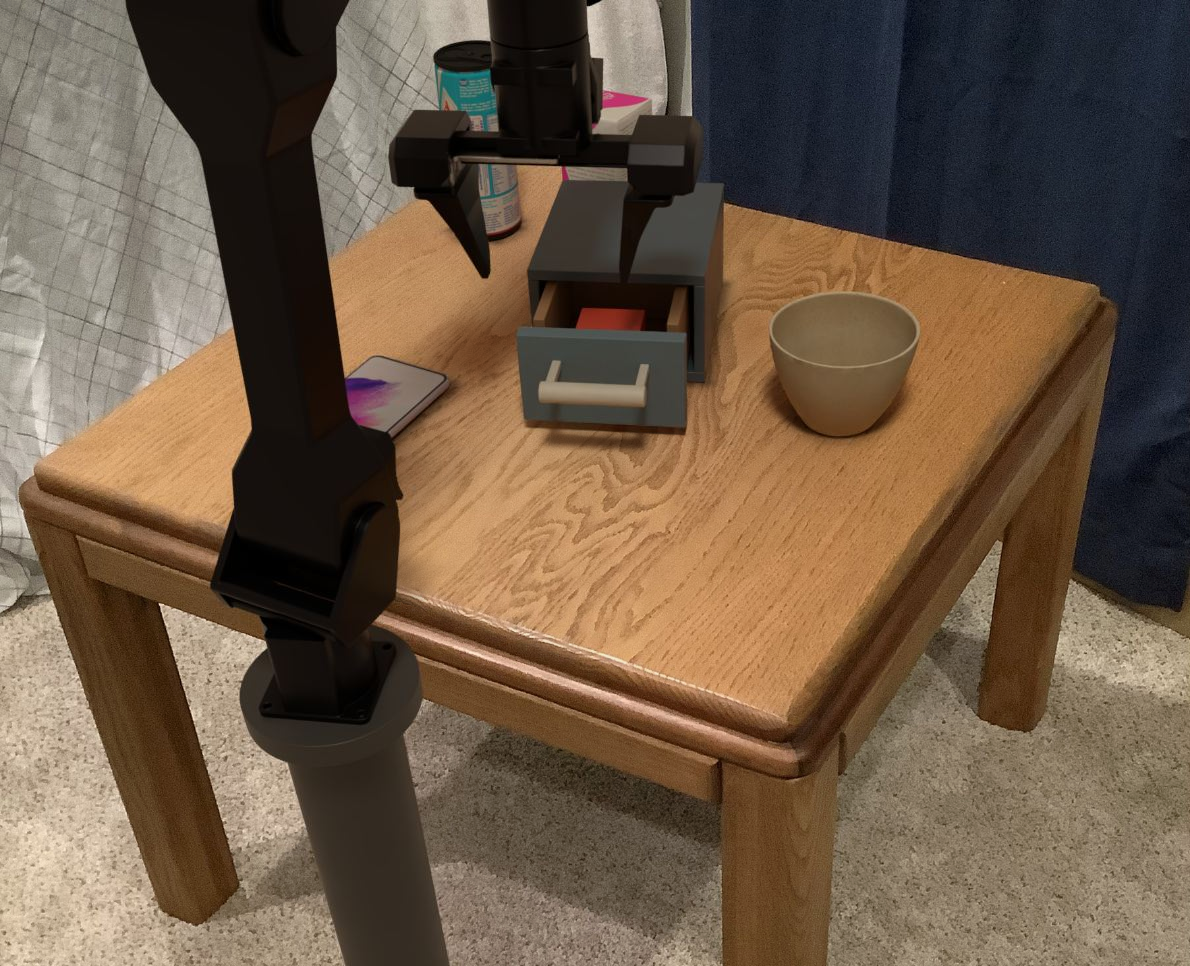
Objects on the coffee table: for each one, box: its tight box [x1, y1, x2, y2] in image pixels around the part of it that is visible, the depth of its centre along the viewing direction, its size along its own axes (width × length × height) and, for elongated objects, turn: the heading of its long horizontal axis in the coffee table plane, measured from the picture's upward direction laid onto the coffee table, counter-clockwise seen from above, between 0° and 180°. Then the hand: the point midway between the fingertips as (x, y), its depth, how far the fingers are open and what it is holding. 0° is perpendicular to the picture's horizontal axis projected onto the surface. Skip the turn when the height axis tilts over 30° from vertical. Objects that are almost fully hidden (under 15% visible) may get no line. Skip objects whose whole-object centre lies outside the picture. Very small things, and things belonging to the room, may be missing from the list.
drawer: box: [515, 280, 694, 428], centre depth 100 cm, size 18×11×7 cm, turn 171°
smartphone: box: [345, 354, 451, 439], centre depth 102 cm, size 7×1×15 cm
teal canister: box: [432, 39, 522, 241], centre depth 119 cm, size 6×6×15 cm
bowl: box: [768, 290, 921, 437], centre depth 98 cm, size 10×10×7 cm
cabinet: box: [526, 179, 725, 383], centre depth 107 cm, size 15×13×9 cm
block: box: [575, 308, 646, 331], centre depth 100 cm, size 4×4×4 cm
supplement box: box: [561, 89, 653, 181], centre depth 118 cm, size 6×6×12 cm
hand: (555, 278), depth 93 cm, fingers open, 9 cm apart
